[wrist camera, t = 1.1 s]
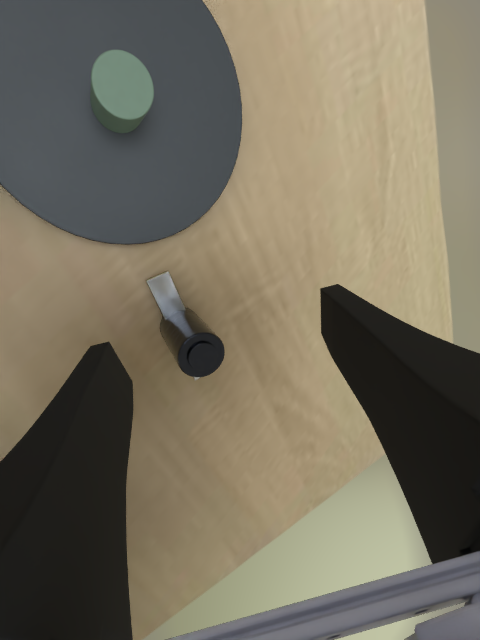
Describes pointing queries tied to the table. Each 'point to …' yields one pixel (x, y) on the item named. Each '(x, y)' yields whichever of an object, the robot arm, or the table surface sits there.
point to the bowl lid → (116, 114)
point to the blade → (185, 331)
